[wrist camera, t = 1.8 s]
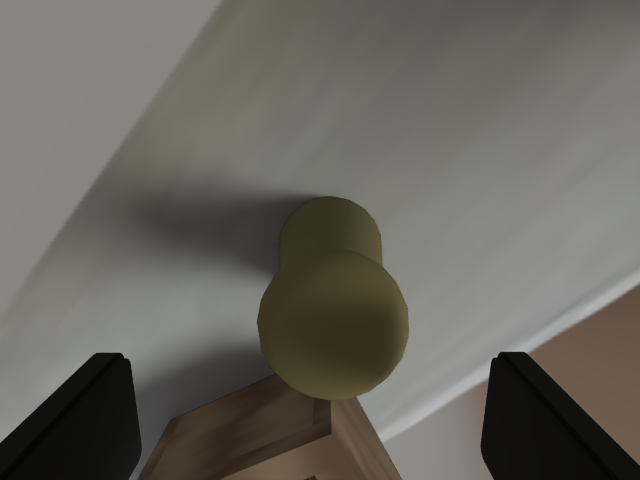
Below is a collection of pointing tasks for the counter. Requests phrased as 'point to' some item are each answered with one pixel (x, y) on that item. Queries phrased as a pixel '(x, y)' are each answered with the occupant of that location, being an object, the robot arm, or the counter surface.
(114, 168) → the counter surface
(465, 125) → the counter surface
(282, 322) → the cork
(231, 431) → the box
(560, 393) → the robot arm
